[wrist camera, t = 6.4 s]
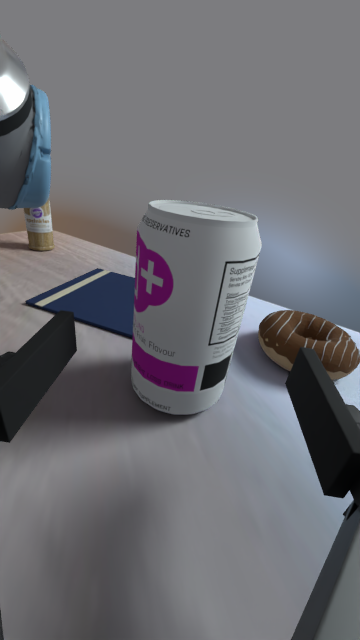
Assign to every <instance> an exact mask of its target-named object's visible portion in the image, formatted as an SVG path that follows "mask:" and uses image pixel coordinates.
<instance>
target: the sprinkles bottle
mask: <svg viewBox="0 0 360 640" xmlns="http://www.w3.org/2000/svg"><path fill="white" fill-rule="evenodd" d="M24 214H25V220H26V228H27V233H28V239H29V248H31V249H33V250H39V251H47V250H51V249H53V248H54V244H53V234H52V221H51V212H50V202H49V198H48V200H47V202H46V203H45V204H44V205H43V206H42V207H39V208H24Z"/></svg>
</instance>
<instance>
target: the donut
mask: <svg viewBox="0 0 360 640" xmlns="http://www.w3.org/2000/svg"><path fill="white" fill-rule="evenodd" d="M258 338H259V342H260V345H261V347H262V349H263V350H264V352H265V353H266V354H267V355H268V356H269V357H270V358H271V359H272V360H273V361H274V362H275V363H277V364H278V365H279V366H281V367H283V368H284V369H286V370H288V371H291V368H292V366H293V364H294V361H295V359H296V356H297V354H298V351H299V349H300V347H305V348H311V349H314V350H315V352H316V353H317V355H318V357H319V359H320V361H321V362H322V364H323V366H324V368H325V369H326V371H327V373H328V375H329V376H330V378H331V380H335V379H340V378H343V377H345V376H347V375H349V374H350V373H351V372H352V371H353V370H354V369H355V368H357V366H358V364H359V362H360V354H359V352H360V351H359V349H357V347H356V343H355V342H353V341H352V339H351V336H349V335H348V333H346V332H345V331H344V330H342V329H341V328H339V327H338V326H336V325H335V324H333V323H331V322H329V321H327V320H325V319H323V318H320V317H317V316H315V315H312V314H308V313H304V312H299V311H292V310H284V311H277V312H273V313H271V314H269V315H268V316H266V317H265V318H264V319H263V320H262V322H261V323H260V325H259V332H258Z"/></svg>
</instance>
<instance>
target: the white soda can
mask: <svg viewBox="0 0 360 640" xmlns="http://www.w3.org/2000/svg"><path fill="white" fill-rule="evenodd" d="M257 221H258V218H257V217H256V216H255V215H252V214H250V213H247V212H244V211H240V210H237V209H232V208H228V207H222V206H217V205H211V204H205V203H197V202H188V201H176V200H157V201H151V202H150V203H149V204H148V210H147V212H146V213H145V215H144V217H143V218H142V220H141V222H140V224H139V225H138V227H137V247H136V248H137V249H136V271H135V295H134V319H133V343H132V367H131V380H132V385H133V389H134V390H135V392H136V393H137V394H138V396H139V397H140V398H141V400H142V401H144V402H145V403H147V404H149V405H150V406H152V407H153V408H155V409H157V410H159V411H163V412H166V413H170V414H173V415H189V414H194V413H198V412H201V411H204V410H207V409H209V408H210V407H211V406H212V405H214V404H215V403H216V402H217V401H219V398H220V396H221V394H222V392H223V389H224V385H225V381H226V377H227V374H228V370H229V366H230V362H231V359H232V355H233V351H234V347H235V344H236V340H237V336H238V332H239V329H240V325H241V321H242V317H243V314H244V310H245V306H246V302H247V299H248V295H249V291H250V287H251V284H252V280H253V276H254V272H255V268H256V265H257V261H258V257H259V254H260V250H261V246H262V243H261V239H260V235H259V230H258V226H257Z"/></svg>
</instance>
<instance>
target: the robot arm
mask: <svg viewBox="0 0 360 640" xmlns="http://www.w3.org/2000/svg"><path fill="white" fill-rule="evenodd" d="M50 146H51V129H50V112H49V102H48V98H47V95H46V94H45V92H43V91H42V90H40V89H37V88H36V87H35V86H33V85H30V84H29V78H28V74H27V72H26V69H25V66H24V64H23V62H22V61H21V59H20V58H19V56H18V55H17V54H16V52H15V51H14V50H13V49H12V48H11V47H10V46H9V45H8V44H7V43H6V42H5V41H4V40H2V39H1V35H0V208H8V209H12V210H13V209H16V208H39V207H42V206H43V205H44V204H45V203H46V202H47V200H48V198H49V192H50V180H51V157H50V152H51V147H50ZM76 351H77V347H76V335H75V323H74V312H70V311H64V310H60V311H59V312H58V313H57V314H56V315H55V316H54V317H53V318H52V319H51V320H50V321H49V322H48V323H47V324H45V325H44V326H43V327H42V328H41V329H40V330H39V331H38V332H37V333H36V334H35V335H34V336H33V337H32V338H31V339H30V340H29V341H28V342H27V343H25V344H24V345H23V346H22V347H21V348H20V349H19V350H18V351H17V352H16V353H14V352H7V353H5V354H3V355H1V356H0V441H3V442H9V443H10V441H11V440H12V438H13V437H14V436H15V434H16V433H17V432H18V430H19V429H20V427H21V426H22V425H23V423H24V422H25V421H26V419H27V418H28V417H29V415H30V414H31V412H32V411H33V410H34V408H35V407H36V406H37V404H38V403H39V401H40V400H41V399H42V397H43V396H44V395H45V393H46V392H47V391H48V389H49V388H50V386H51V385H52V384H53V382H54V381H55V380H56V378H57V377H58V375H59V374H60V373H61V371H62V370H63V369H64V367H65V366H66V365H67V363H68V362H69V360H70V359H71V358H72V356H73V355H74V354H75V352H76ZM285 384H286V387H287V389H288V392H289V395H290V398H291V401H292V404H293V407H294V410H295V412H296V415H297V418H298V421H299V424H300V427H301V430H302V433H303V435H304V438H305V441H306V444H307V447H308V450H309V453H310V456H311V458H312V461H313V464H314V467H315V470H316V473H317V476H318V479H319V482H320V484H321V487H322V490H323V493H324V495H326V496H332V497H338V498H344V497H345V495H346V494H347V493H348V491H349V490H350V492H351V494H352V496H353V499H354V501H353V502H352V503H351V504H350V506H349V507H348V508H347V509H346V511H345V512H344V513H343V515H344V516H345V518H344V520H343V523H342V525H341V527H340V530H339V532H338V534H337V536H336V539H335V541H334V543H333V545H332V548H331V550H330V552H329V554H328V557H327V559H326V561H325V564H324V566H323V568H322V570H321V573H320V575H319V577H318V579H317V582H316V584H315V586H314V589H313V591H312V593H311V595H310V598H309V600H308V602H307V604H306V607H305V609H304V611H303V614H302V616H301V618H300V620H299V623H298V625H297V627H296V629H295V632H294V634H293V636H292V639H291V640H360V411H359V410H358V409H357V408H356V407H355V406H353V405H347V404H345V403H344V401H343V399H342V397H341V396H340V394H339V392H338V390H337V389H336V387H335V385H334V383H333V382H332V380H331V378H330V376H329V375H328V373H327V371H326V369H325V368H324V366H323V364H322V362H321V361H320V359H319V357H318V355H317V353H316V352H315V350H314V349H311V348H305V347H300V349H299V351H298V354H297V356H296V359H295V361H294V364H293V366H292V368H291V371H290V373H289V376H288V378H287V381H286V383H285ZM0 640H4V636H3V630H2V620H1V610H0Z"/></svg>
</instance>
